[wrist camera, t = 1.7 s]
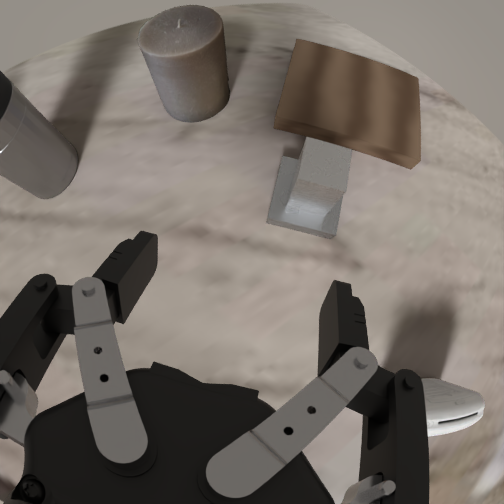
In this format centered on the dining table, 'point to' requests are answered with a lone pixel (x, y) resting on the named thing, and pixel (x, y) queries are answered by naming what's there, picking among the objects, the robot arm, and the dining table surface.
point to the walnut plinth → (351, 103)
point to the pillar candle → (187, 61)
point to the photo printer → (450, 406)
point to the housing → (311, 189)
